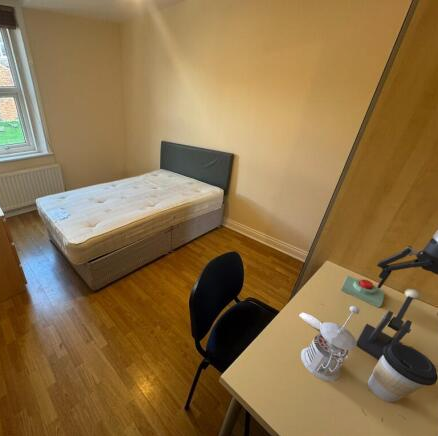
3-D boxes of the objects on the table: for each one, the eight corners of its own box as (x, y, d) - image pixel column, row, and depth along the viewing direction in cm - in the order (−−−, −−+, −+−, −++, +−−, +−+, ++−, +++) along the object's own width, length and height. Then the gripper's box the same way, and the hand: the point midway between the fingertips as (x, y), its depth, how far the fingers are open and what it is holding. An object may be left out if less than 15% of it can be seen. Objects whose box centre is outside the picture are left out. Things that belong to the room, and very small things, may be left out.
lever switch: (405, 289, 74) (409, 285, 72) (419, 295, 72) (424, 291, 70) (384, 325, 70) (388, 321, 68) (398, 333, 68) (403, 329, 66)
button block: (382, 295, 91) (387, 287, 89) (379, 308, 86) (384, 300, 84) (345, 279, 99) (349, 272, 97) (340, 290, 94) (344, 282, 92)
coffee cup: (359, 392, 63) (387, 361, 55) (360, 364, 69) (385, 333, 61) (407, 420, 57) (445, 391, 50) (404, 387, 63) (438, 357, 56)
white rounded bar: (322, 335, 77) (325, 329, 76) (297, 318, 83) (299, 313, 81) (326, 330, 79) (329, 324, 77) (301, 313, 84) (304, 308, 83)
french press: (338, 358, 70) (378, 302, 58) (341, 395, 62) (388, 339, 50) (301, 341, 75) (331, 286, 63) (299, 374, 67) (332, 318, 54)
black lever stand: (364, 326, 80) (383, 300, 73) (400, 346, 73) (424, 320, 67) (354, 345, 74) (373, 319, 68) (392, 368, 68) (417, 342, 61)
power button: (372, 286, 91) (374, 282, 90) (370, 290, 88) (372, 287, 88) (360, 281, 93) (362, 278, 92) (358, 285, 91) (360, 282, 90)
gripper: (387, 229, 68) (355, 281, 79) (535, 277, 51) (469, 335, 62) (392, 221, 72) (361, 271, 83) (532, 263, 55) (470, 320, 66)
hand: (407, 299), depth 73 cm, fingers open, 13 cm apart
